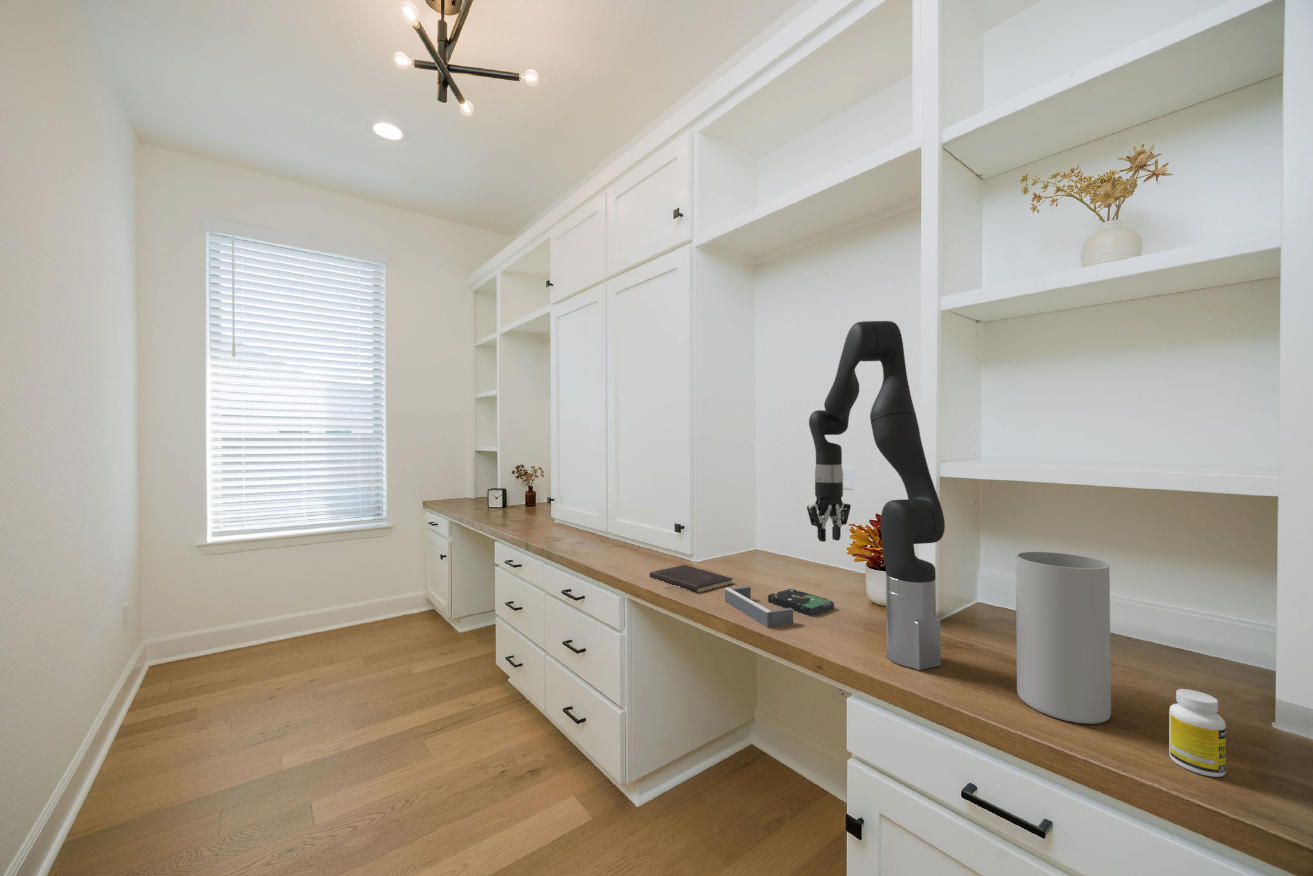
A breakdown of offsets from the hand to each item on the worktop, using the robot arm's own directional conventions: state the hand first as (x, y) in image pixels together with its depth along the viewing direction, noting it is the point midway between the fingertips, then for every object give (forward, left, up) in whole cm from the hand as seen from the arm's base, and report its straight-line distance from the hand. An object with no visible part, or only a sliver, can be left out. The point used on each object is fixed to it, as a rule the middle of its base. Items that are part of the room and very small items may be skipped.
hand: (829, 540), depth 142 cm
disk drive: (0, +10, -18) cm, 21 cm away
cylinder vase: (-60, +1, -17) cm, 62 cm away
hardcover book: (+34, +28, -18) cm, 48 cm away
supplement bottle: (-77, +1, -18) cm, 79 cm away
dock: (0, +24, -17) cm, 30 cm away
